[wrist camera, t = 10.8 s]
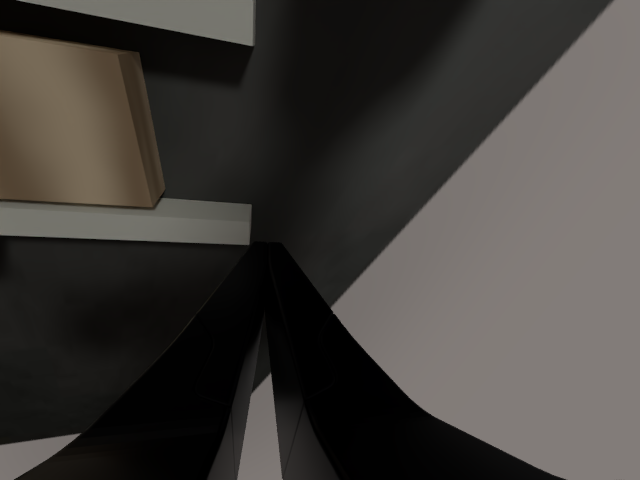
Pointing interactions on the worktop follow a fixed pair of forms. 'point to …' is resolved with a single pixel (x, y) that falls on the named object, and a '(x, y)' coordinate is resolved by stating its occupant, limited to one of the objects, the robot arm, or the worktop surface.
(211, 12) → the canopy channel
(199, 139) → the worktop surface
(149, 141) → the tan wooden block
